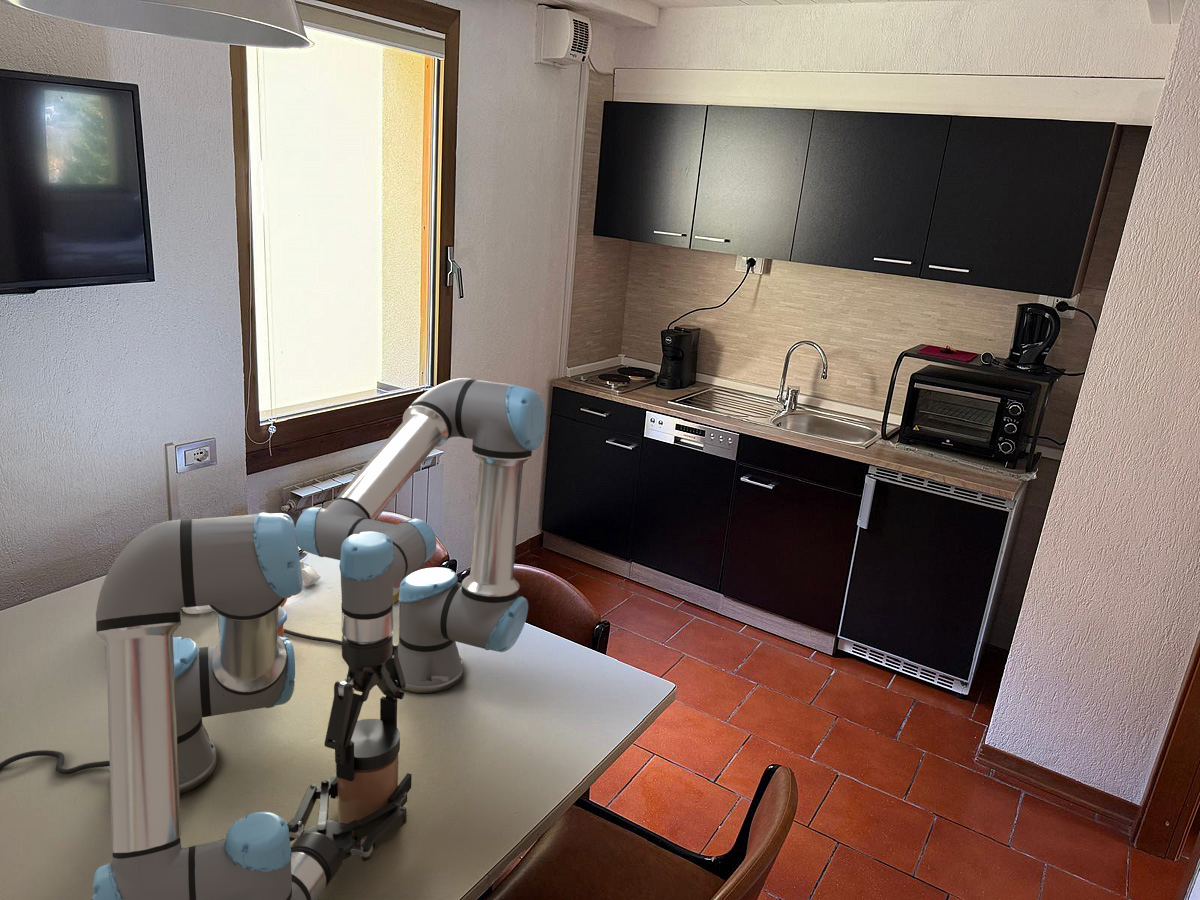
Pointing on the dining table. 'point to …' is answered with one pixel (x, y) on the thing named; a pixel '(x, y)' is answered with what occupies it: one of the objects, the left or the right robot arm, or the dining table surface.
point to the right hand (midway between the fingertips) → (367, 754)
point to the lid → (375, 743)
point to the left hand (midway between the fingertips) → (381, 773)
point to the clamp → (308, 574)
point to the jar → (366, 792)
